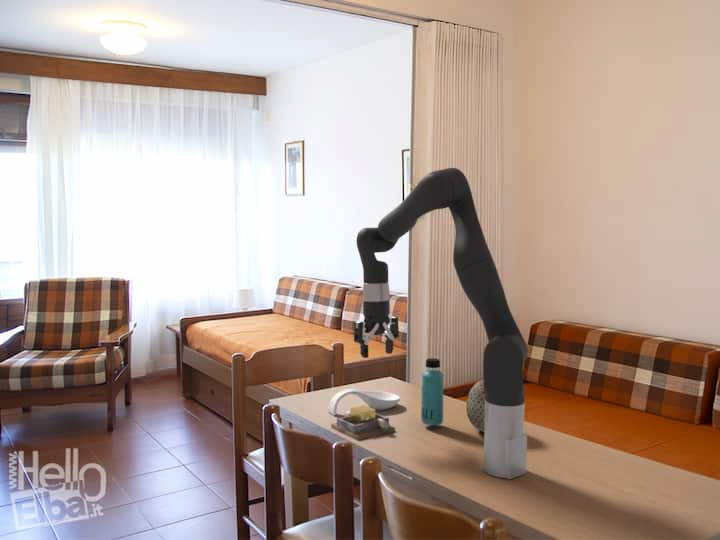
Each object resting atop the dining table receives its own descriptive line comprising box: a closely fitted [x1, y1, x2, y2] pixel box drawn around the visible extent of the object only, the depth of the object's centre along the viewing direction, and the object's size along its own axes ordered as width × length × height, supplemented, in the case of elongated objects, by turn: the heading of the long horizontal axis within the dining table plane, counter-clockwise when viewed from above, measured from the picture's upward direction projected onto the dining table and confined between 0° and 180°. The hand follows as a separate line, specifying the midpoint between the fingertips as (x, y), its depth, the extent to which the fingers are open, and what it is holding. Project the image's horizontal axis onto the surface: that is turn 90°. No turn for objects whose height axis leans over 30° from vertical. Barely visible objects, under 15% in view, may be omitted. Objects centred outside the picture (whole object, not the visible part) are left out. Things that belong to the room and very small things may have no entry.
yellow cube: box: [350, 404, 376, 425], centre depth 188 cm, size 5×5×5 cm
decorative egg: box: [465, 379, 485, 433], centre depth 186 cm, size 12×12×15 cm
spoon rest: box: [327, 388, 401, 417], centre depth 207 cm, size 24×12×7 cm, turn 118°
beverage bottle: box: [420, 357, 445, 426], centre depth 190 cm, size 6×7×20 cm
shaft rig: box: [330, 410, 396, 441], centre depth 188 cm, size 15×13×4 cm
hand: (377, 355), depth 187 cm, fingers open, 8 cm apart
